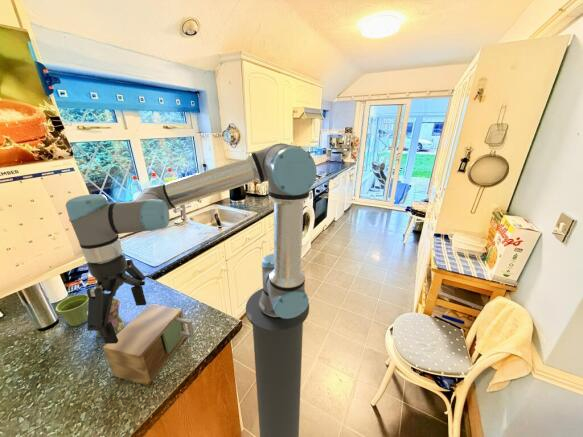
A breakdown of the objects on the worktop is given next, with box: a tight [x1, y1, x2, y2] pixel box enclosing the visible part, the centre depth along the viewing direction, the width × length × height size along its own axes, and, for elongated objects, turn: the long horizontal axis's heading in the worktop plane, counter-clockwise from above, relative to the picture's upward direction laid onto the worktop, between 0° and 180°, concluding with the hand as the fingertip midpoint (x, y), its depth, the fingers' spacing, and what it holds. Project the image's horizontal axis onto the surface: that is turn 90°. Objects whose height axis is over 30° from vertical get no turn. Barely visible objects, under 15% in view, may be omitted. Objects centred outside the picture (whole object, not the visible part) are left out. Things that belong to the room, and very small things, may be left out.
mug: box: [87, 297, 126, 339], centre depth 83 cm, size 12×9×11 cm
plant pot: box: [55, 293, 89, 327], centre depth 89 cm, size 9×9×9 cm
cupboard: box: [102, 303, 187, 386], centre depth 75 cm, size 12×18×12 cm
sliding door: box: [162, 316, 195, 354], centre depth 77 cm, size 6×7×10 cm
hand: (128, 321), depth 66 cm, fingers open, 13 cm apart
